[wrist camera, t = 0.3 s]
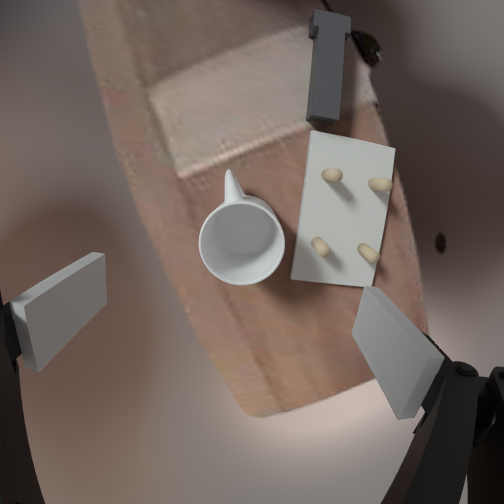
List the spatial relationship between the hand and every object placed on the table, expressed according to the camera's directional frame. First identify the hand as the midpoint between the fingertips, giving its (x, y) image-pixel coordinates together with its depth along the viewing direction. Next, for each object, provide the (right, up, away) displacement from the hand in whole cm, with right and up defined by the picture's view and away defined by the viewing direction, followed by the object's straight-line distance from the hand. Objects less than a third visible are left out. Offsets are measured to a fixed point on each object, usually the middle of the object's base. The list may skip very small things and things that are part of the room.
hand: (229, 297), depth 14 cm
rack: (+13, +8, +25) cm, 30 cm away
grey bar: (+11, +27, +21) cm, 36 cm away
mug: (0, +7, +26) cm, 27 cm away
